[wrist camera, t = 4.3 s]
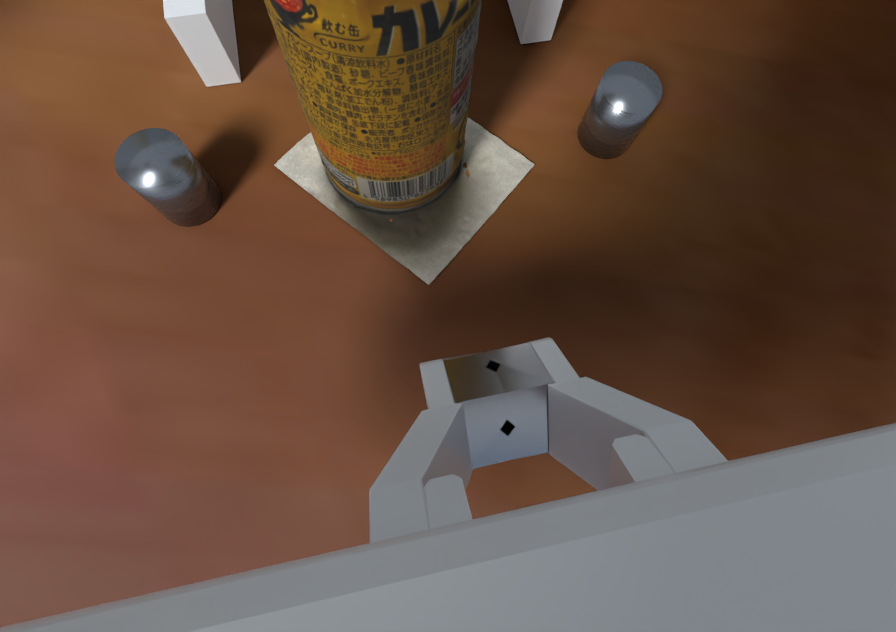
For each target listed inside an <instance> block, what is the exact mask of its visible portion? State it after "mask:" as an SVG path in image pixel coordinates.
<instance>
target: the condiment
mask: <svg viewBox="0 0 896 632" xmlns="http://www.w3.org/2000/svg"><path fill="white" fill-rule="evenodd" d="M264 2H265V5H266V8H267V11H268V14H269V16H270V19H271V22H272V25H273V27H274V30H275V33H276V36H277V39H278V43H279V45H280V48H281V50H282V53H283V55H284V58H285V61H286V64H287V67H288V70H289V72H290V75H291V78H292V80H293V83H294V86H295V89H296V92H297V95H298V98H299V101H300V103H301V106H302V108H303V111H304V114H305V117H306V119H307V122H308V125H309V128H310V131H311V133H309V134H308V135H306V136H305V137H304V138H303V139H302V140H300V141H299V142H298V143H297V144H296V145H295V146H294V147H293V148H292V149H290V150H289V151H288V152H287V153H286V154H285V155H284V156H283V157H282V158H281V159H280V160H279V161H278V162H277V163H276V164H275V165H274V166H276V167H277V168H278V169H280V170H281V171H282V172H283V173H285V174H286V175H287V176H288V177H290V178H291V179H292V180H293V181H295V182H296V183H297V184H298V185H300V186H301V187H302V188H303V189H305V190H306V191H307V192H309V193H310V194H311V195H313V196H314V197H315V198H316V199H318V200H319V201H320V202H321V203H322V204H324V205H325V206H326V207H327V208H329V209H330V210H332V211H333V212H335V213H336V214H337V215H338V216H339V217H341V218H342V219H343V220H345V221H346V222H347V223H349V224H350V225H351V226H352V227H354V228H355V229H357V230H358V231H360V232H361V233H362V234H364V235H365V236H366V237H368V238H369V239H370V240H371V241H372V242H373V243H375V244H376V245H377V246H379V247H380V248H381V249H382V250H384V251H385V252H386V253H387V254H389V255H390V256H391V257H392V258H394V259H395V260H396V261H398V262H399V263H401V264H402V265H404V266H405V267H406V268H408V269H409V270H410V271H412V272H413V273H414V274H415V275H416V276H418V277H419V278H420V279H422V280H423V281H424V282H425V283H427V284H428V285H429V284H430V283H431V282H432V281H433V280H434V279H435V278H436V277H437V275H438V274H439V273H440V272H441V271H442V270H443V269H444V268H445V267H446V266H447V265H448V263H449V262H450V261H451V260H452V259H453V258H454V257H455V256H456V254H457V253H458V252H459V251H460V250H461V249H462V247H463V246H464V245H465V244H466V243H467V242H468V241H469V240H470V239H471V238H472V236H473V235H474V234H475V233H476V232H477V231H478V230H479V228H480V227H481V226H482V225H483V224H484V223H485V221H486V220H487V219H488V218H489V217H490V216H491V215H492V214H493V213H494V212H495V210H496V209H497V208H498V206H499V205H500V204H501V203H502V202H503V200H504V199H505V198H506V197H507V196H508V195H509V194H510V193H511V192H512V190H513V189H514V188H515V187H516V186H517V185H518V183H519V182H520V181H521V180H522V179H523V177H524V176H525V175H526V174H527V173H528V172H529V170H530V169H531V168H532V167H533V166H534V164H533V163H532V162H531V161H529V160H528V159H526V158H525V157H524V156H523V155H522V154H520V153H519V152H517V151H516V150H514V149H512V148H510V147H509V146H508V145H506V144H505V143H504V142H503V141H502V140H501V139H499V138H498V137H496V136H494V135H492V134H491V133H489V132H488V131H487V130H485V129H484V128H483V127H482V126H481V125H479V124H478V123H475V122H474V121H472V120H471V119H470V118H468V117H467V116H468V112H469V101H470V91H471V79H472V73H473V62H474V56H475V47H476V43H477V39H478V27H479V16H480V11H481V0H264ZM463 163H466V164H467V167H466V168H464V167H463ZM466 170H467V171H469V173H470V176H469V177H467V176H466ZM390 219H392V220H393V222H390V221H389V220H390Z"/></svg>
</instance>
